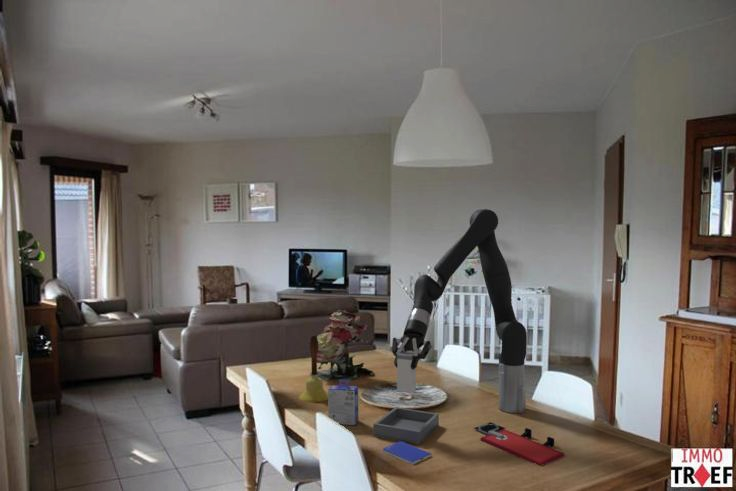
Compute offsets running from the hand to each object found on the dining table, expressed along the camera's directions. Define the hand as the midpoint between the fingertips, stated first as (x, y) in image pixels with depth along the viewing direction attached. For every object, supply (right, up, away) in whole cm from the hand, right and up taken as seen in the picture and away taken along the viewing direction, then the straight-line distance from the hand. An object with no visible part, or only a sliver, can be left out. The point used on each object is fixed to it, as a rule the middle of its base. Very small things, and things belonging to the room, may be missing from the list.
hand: (404, 367), depth 176 cm
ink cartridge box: (-20, -22, +11) cm, 32 cm away
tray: (+1, -22, +2) cm, 22 cm away
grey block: (+1, -8, +2) cm, 8 cm away
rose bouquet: (-26, -20, +71) cm, 78 cm away
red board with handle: (+34, -22, -8) cm, 42 cm away
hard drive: (0, -23, -16) cm, 28 cm away
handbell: (-33, -21, +39) cm, 55 cm away
